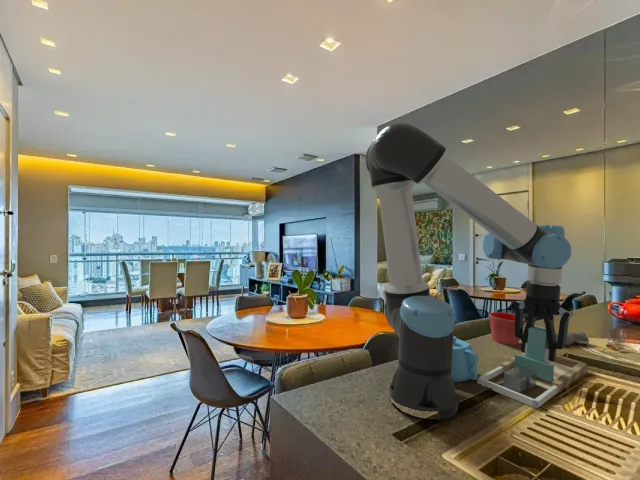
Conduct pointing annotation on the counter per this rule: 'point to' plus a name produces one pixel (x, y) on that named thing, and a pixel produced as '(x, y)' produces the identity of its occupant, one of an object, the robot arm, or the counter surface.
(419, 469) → the counter surface
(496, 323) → the flower pot
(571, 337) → the stone
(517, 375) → the block
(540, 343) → the rake tool
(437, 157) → the robot arm
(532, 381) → the block
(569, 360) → the slot board
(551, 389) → the tray
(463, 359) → the teapot
